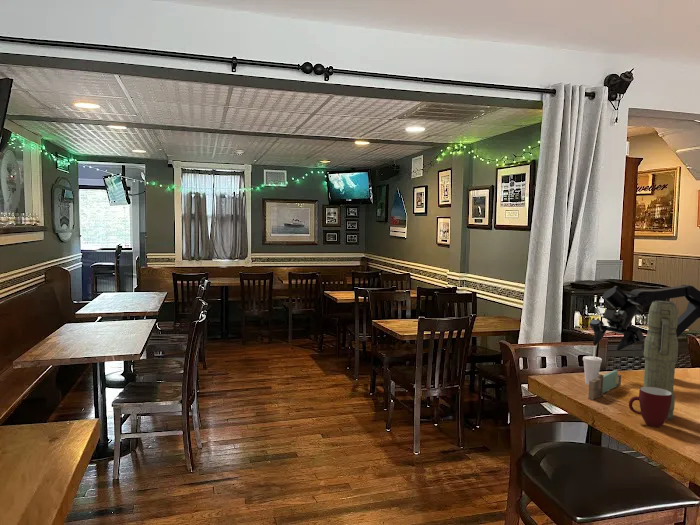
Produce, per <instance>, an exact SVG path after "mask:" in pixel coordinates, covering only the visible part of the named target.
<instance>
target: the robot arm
mask: <svg viewBox="0 0 700 525" xmlns="http://www.w3.org/2000/svg"><path fill="white" fill-rule="evenodd" d="M675 298H684V299H685V300H686V301H687V302H688V303H687V306H686V310H685V311H683V313H682V314H680V316H678V321H677V329H676V333H677V339H678V338H679V337H680V336H681V335H682V334H683V333H684V332H685V331H686V330H688V329H689V327H690V326H692V324H693V325H694V323H695V322H696V321H697V320H698V319H700V290H699V289H697V288H696V287H695V286H693V285H690V284H682V285H676V286H671V287H670V286H669V287H663V288H657V289H638V288H635V289H632V290H631V291H630V292H627V293H625V292H624V291H623V290H622V289H621V288H620V286H618V285H614V286H613V287H612V288H611V287H610V288H609V289H608V290H605V292H604V293H603V294H602V299H603V300H604V301H606V302H607V303H608V304H609V305H610V306H611V307H612V308H613V309H616V308H617V309H618V310H617V311H616V310H612V309H605V310H604V313H603V316H602V317H603V319H606V322H607V324H605V323H604V321H602V320H599V319H591V320H590V322H589V324H588V325H589V326H590V328H591V329H592V331H593V333H594V334H593V342H592V343H593V344H592V345H593V347H596V345H598V344H599V342H600V341H601V340H602V339H603V338H604V336H605V335H604V334H606V332H613V333H616V334H621V335H623V337H622V338H621V340H620V342H618V344H617V347H616V351H617V352H618V351H621V350H623V349H625V348H626V347H629V346H630V345H633V344H637V343H642V342H643V344H642V345H641V351H642V354H643V355H644V344H645V339H644V337H645V336H644V334H643V332H642V330H641V329H640V327H638V326H632V321H633V319H634V317H635V316H639V315H643V312H642V310H641V307H646V306H651V304H652V302H655V301H656V300H661V301H665V300H669V299H675ZM638 305H639V306H641V307H638Z"/></svg>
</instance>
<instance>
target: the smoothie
mask: <svg viewBox="0 0 700 525" xmlns="http://www.w3.org/2000/svg"><path fill="white" fill-rule="evenodd" d="M582 361H583V368H584V380H585V381H584V383H585V384H586V385H588V386H589V381H591V380H593V379H595V378H597V374H600V370H601V365H602V362H603V359H602V358H601V357H599V356H596V346H593V354H592V355H585V356H583V357H582Z"/></svg>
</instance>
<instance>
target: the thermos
mask: <svg viewBox="0 0 700 525" xmlns="http://www.w3.org/2000/svg"><path fill="white" fill-rule="evenodd" d="M678 317H679V312H678V308H677V304H676V303H675V302H673V301H670V300H656V301H655V302H652V304H650V305H649V310H648V318H647V320H648V321H647V326H648V329H647V334H646V336H645V339H644V341H645V342H644V343H645V344H644V354H643V357H644V373H643V374H644V375H643V376H644V377H643V386H642V387H655V388H660V389H664V390H667V391H669V392H671V393H672V402H671V406H670V410H669V413H668V417H667V419H666V420H672V419H674V410H675V404H676V403H675V402H676V396H675V393H674V387H675V386H674V385H675V373H676V372H675V371H676V370H675V369H676V363H677V361H678V354H679V340H678V338H677V333H676V329H677V321H678Z"/></svg>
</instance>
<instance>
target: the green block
mask: <svg viewBox="0 0 700 525" xmlns="http://www.w3.org/2000/svg"><path fill="white" fill-rule="evenodd" d="M617 374H618V370H616V369H614V370H612V371H609V372H607V373H605V374H602V375H603V390H602V395H603V394H605V393H606V392H608V391H610V390H612V389H614V388H616V386H617V384H618V380H619V377H617Z"/></svg>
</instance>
